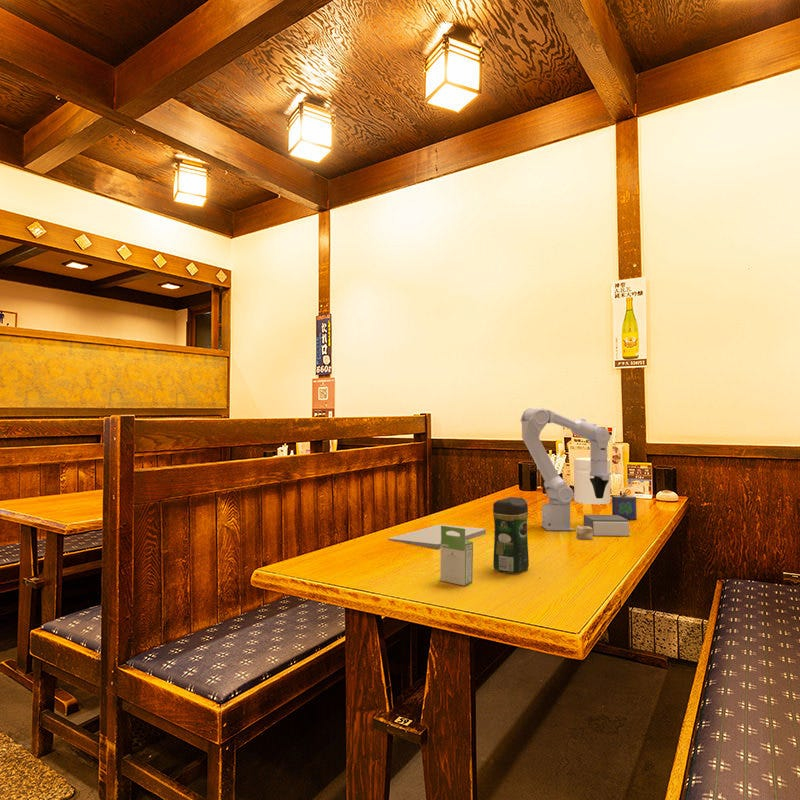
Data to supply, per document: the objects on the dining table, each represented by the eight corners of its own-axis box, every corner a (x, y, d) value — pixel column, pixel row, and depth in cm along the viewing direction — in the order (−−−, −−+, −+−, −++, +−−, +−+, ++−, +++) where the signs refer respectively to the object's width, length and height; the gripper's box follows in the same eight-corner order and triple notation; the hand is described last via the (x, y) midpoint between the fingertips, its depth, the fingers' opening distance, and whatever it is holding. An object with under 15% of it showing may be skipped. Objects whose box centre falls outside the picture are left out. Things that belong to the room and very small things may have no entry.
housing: (592, 535, 181) (592, 519, 182) (583, 529, 190) (583, 514, 191) (628, 535, 181) (628, 519, 181) (617, 529, 190) (617, 515, 190)
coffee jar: (505, 563, 147) (505, 494, 147) (532, 568, 142) (532, 497, 143) (488, 570, 139) (488, 498, 140) (516, 576, 134) (516, 501, 135)
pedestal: (580, 539, 175) (580, 528, 175) (576, 536, 179) (576, 526, 179) (592, 539, 175) (592, 528, 175) (588, 536, 179) (588, 526, 179)
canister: (586, 498, 264) (585, 457, 264) (617, 502, 252) (616, 459, 252) (567, 501, 253) (567, 458, 254) (599, 506, 241) (598, 461, 242)
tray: (594, 535, 180) (594, 522, 180) (585, 529, 189) (585, 517, 189) (629, 535, 180) (629, 522, 180) (618, 530, 189) (618, 517, 189)
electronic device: (438, 551, 161) (438, 544, 161) (387, 541, 174) (387, 534, 174) (486, 534, 184) (486, 528, 184) (438, 527, 196) (438, 521, 196)
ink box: (473, 582, 129) (473, 526, 130) (464, 586, 126) (464, 529, 127) (448, 577, 134) (448, 522, 134) (439, 581, 130) (440, 525, 131)
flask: (635, 519, 211) (634, 491, 211) (638, 520, 208) (637, 492, 208) (611, 518, 211) (610, 491, 211) (613, 520, 208) (613, 492, 209)
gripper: (617, 462, 188) (618, 501, 188) (602, 458, 203) (603, 495, 202) (597, 462, 188) (597, 501, 188) (583, 458, 203) (584, 495, 202)
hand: (599, 498), depth 195 cm, fingers closed
